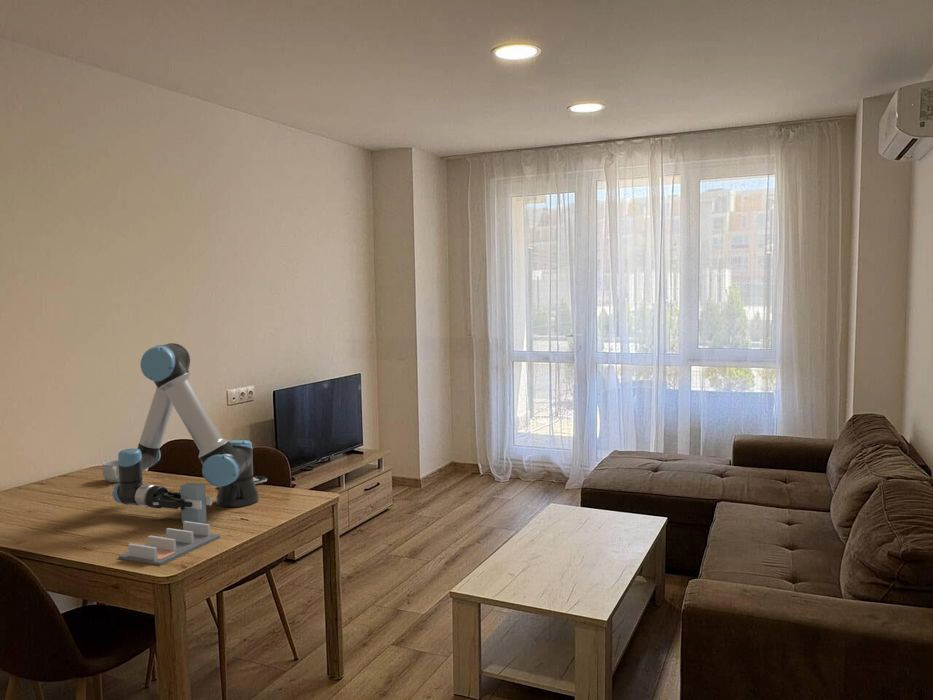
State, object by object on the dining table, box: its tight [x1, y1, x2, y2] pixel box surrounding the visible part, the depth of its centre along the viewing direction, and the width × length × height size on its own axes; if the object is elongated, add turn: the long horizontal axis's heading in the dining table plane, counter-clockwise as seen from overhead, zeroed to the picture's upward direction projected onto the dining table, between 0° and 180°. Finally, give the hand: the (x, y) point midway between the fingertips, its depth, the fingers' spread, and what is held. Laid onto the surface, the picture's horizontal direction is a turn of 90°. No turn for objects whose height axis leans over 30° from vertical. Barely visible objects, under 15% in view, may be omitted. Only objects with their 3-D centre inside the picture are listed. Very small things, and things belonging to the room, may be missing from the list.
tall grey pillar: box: [179, 482, 208, 524], centre depth 249 cm, size 4×7×13 cm, turn 68°
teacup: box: [101, 459, 119, 483], centre depth 303 cm, size 14×11×8 cm
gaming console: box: [217, 475, 268, 488], centre depth 296 cm, size 19×9×3 cm, turn 129°
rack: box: [118, 521, 221, 566], centre depth 225 cm, size 25×16×4 cm, turn 158°
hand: (205, 503), depth 247 cm, fingers open, 4 cm apart
